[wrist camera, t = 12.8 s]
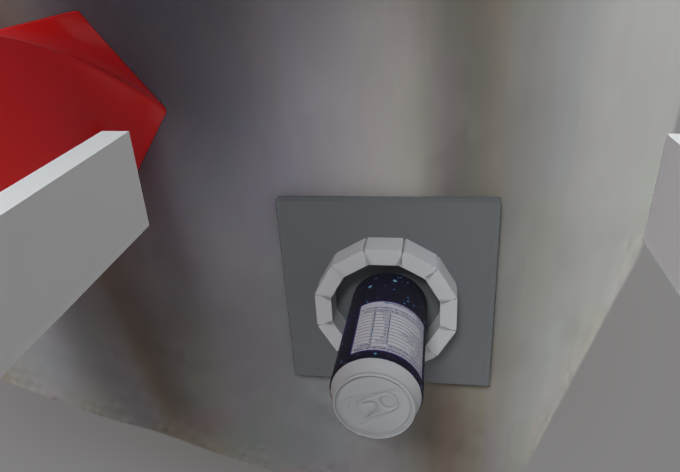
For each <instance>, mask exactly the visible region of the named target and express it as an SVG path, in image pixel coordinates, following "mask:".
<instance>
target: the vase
mask: <svg viewBox="0 0 680 472" xmlns="http://www.w3.org/2000/svg"><path fill="white" fill-rule="evenodd" d="M165 114H166V109H165V107H164V106H163V105H162V104H161V102H160V101H159V100H158V99H157V98H156V97H155V96H154V95H153V94H152V93H151V92H150V91H149V89H148V88H147V87H146V86H145V85H144V84H143V83H142V82H141V81H140V80H139V79H138V77H137V76H136V75H135V74H134V73H133V72H132V71H131V70H130V69H129V68H128V66H127V65H126V64H125V63H124V62H123V61H122V60H121V59H120V58H119V56H118V55H117V54H116V53H115V52H114V51H113V50H112V49H111V47H110V46H109V45H108V44H107V43H106V42H105V41H104V40H103V38H102V37H101V36H100V35H99V34H98V33H97V32H96V31H95V29H94V28H93V27H92V26H91V25H90V24H89V23H88V21H87V20H86V19H85V18H84V17H83V16H82V15H81V14H80V12H78V11H70V12H66V13H62V14H58V15H54V16H50V17H46V18H42V19H38V20H34V21H30V22H26V23H22V24H18V25H14V26H10V27H6V28H2V29H0V192H1V191H3V190H5V189H6V188H8V187H10V186H11V185H13V184H15V183H16V182H18V181H20V180H21V179H23V178H24V177H26V176H28V175H29V174H31V173H33V172H34V171H36V170H38V169H39V168H41V167H43V166H44V165H46V164H48V163H49V162H51V161H53V160H54V159H56V158H58V157H59V156H61V155H63V154H64V153H66V152H68V151H69V150H71V149H73V148H74V147H76V146H78V145H79V144H81V143H83V142H84V141H86V140H88V139H89V138H91V137H93V136H94V135H96V134H98V133H99V132H101V131H129V133H130V138H131V143H132V147H133V152H134V157H135V161H136V166H137V171H138V170H139V168H140V165H141V163H142V161H143V159H144V157H145V155H146V153H147V151H148V149H149V147H150V145H151V143H152V141H153V138H154V136H155V134H156V132H157V130H158V128H159V126H160V124H161V122H162V120H163V118H164V116H165Z"/></svg>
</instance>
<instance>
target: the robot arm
mask: <svg viewBox="0 0 680 472" xmlns="http://www.w3.org/2000/svg"><path fill="white" fill-rule="evenodd" d="M148 226H149V222H148V217H147V212H146V208H145V203H144V198H143V194H142V189H141V184H140V180H139V175H138V171H137V166H136V161H135V157H134V152H133V147H132V143H131V138H130V133H129V131H101V132H99V133H98V134H96V135H94V136H93V137H91V138H89V139H88V140H86V141H84V142H83V143H81V144H79V145H78V146H76V147H74V148H73V149H71V150H69V151H68V152H66V153H64V154H63V155H61V156H59V157H58V158H56V159H54V160H53V161H51V162H49V163H48V164H46V165H44V166H43V167H41V168H39V169H38V170H36V171H34V172H33V173H31V174H29V175H28V176H26V177H24V178H23V179H21V180H20V181H18V182H16V183H15V184H13V185H11V186H10V187H8V188H6V189H5V190H3V191H1V192H0V379H1V378H2V377H3V376H4V375H5V374H6V372H7V371H8V370H9V369H10V368H11V367H12V366H13V365H14V364H15V363H16V362H17V361H18V360H19V359H20V358H21V357H22V356H23V355H24V354H25V353H26V352H27V351H28V350H29V349H30V348H31V347H32V346H33V345H34V344H35V343H36V342H37V341H38V340H39V339H40V337H41V336H42V335H43V334H44V333H45V332H46V331H47V330H48V329H49V328H50V327H51V326H52V325H53V324H54V323H55V322H56V321H57V320H58V319H59V318H60V317H61V316H62V315H63V314H64V313H65V312H66V311H67V310H68V309H69V308H70V307H71V306H72V305H73V304H74V302H75V301H76V300H77V299H78V298H79V297H80V296H81V295H82V294H83V293H84V292H85V291H86V290H87V289H88V288H89V287H90V286H91V285H92V284H93V283H94V282H95V281H96V280H97V279H98V278H99V277H100V276H101V275H102V274H103V273H104V272H105V271H106V270H107V269H108V267H109V266H110V265H111V264H112V263H113V262H114V261H115V260H116V259H117V258H118V257H119V256H120V255H121V254H122V253H123V252H124V251H125V250H126V249H127V248H128V247H129V246H130V245H131V244H132V243H133V242H134V241H135V240H136V239H137V238H138V237H139V236H140V235H141V234H142V232H143V231H144V230H145V229H146V228H147V227H148ZM643 241H644V243H645V244H646V246H647V247H648V249H649V250H650V252H651V253H652V255H653V256H654V258H655V259H656V261H657V262H658V264H659V265H660V267H661V268H662V270H663V271H664V273H665V274H666V276H667V278H668V279H669V281H670V282H671V284H672V285H673V287H674V288H675V290H676V291H677V293H678V294H679V296H680V134H667V137H666V141H665V146H664V150H663V154H662V159H661V163H660V168H659V172H658V176H657V181H656V185H655V190H654V194H653V199H652V203H651V207H650V212H649V216H648V221H647V225H646V229H645V234H644V238H643Z"/></svg>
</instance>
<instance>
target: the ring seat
mask: <svg viewBox="0 0 680 472" xmlns="http://www.w3.org/2000/svg"><path fill="white" fill-rule="evenodd" d="M275 202H276V211H277V219H278V228H279V236H280V245H281V254H282V262H283V271H284V279H285V288H286V297H287V305H288V314H289V322H290V331H291V340H292V348H293V357H294V365H295V374H296V375H305V376H322V377H332V373H333V370H334V366H335V362H336V358H337V354H338V350H339V347H340V343H341V339H342V335H343V331H344V328H345V324H346V320H347V316H348V312H349V309H350V305H351V301H352V297H353V294H354V291H355V289H356V288H357V286H358V285H359V284H360V283H361V282H362V281H363V280H364V279H366V278H368V277H370V276H372V275H375V274H378V273H396V274H400V275H403V276H405V277H408V278H409V279H411V280H413V281H414V282H415V283H416V284H417V285H418V286H419V287H420V288H421V289H422V291H423V292H424V294H425V297H426V300H427V324H426V346H425V368H424V382H428V383H446V384H464V385H481V386H489V376H490V361H491V346H492V332H493V317H494V302H495V287H496V272H497V257H498V243H499V228H500V213H501V200H500V197H337V196H279V197H278V198H277V200H276V201H275Z"/></svg>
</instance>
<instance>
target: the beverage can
mask: <svg viewBox="0 0 680 472" xmlns="http://www.w3.org/2000/svg"><path fill="white" fill-rule="evenodd" d="M426 324H427V300H426V297H425V294H424V292H423V291H422V289H421V288H420V287H419V286H418V285H417V284H416V283H415V282H414V281H413V280H411V279H409V278H408V277H405V276H403V275H400V274H396V273H378V274H375V275H372V276H370V277H368V278H366V279H364V280H363V281H362V282H361V283H360V284H359V285H358V286H357V288H356V289H355V291H354V294H353V297H352V301H351V305H350V309H349V312H348V316H347V320H346V324H345V328H344V331H343V335H342V339H341V343H340V347H339V350H338V354H337V358H336V362H335V366H334V370H333V373H332V377H331V381H330V394H331V398H332V400H333V409H334V412H335V415H336V416H337V418H338V420H339V421H340V422H341V423H342V424H343V425H344V426H345V427H346V428H347V429H349V430H350V431H352V432H354V433H356V434H358V435H360V436H363V437H367V438H373V439H385V438H390V437H394V436H397V435H399V434H401V433H402V432H404V431H405V430H407V428H408V427H409V426H410V425H411V424H412V422H413V420H414V418H415V415H416V414H417V413H418V411H419V410H420V408H421V405H422V402H423V390H424V368H425V346H426Z"/></svg>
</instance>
